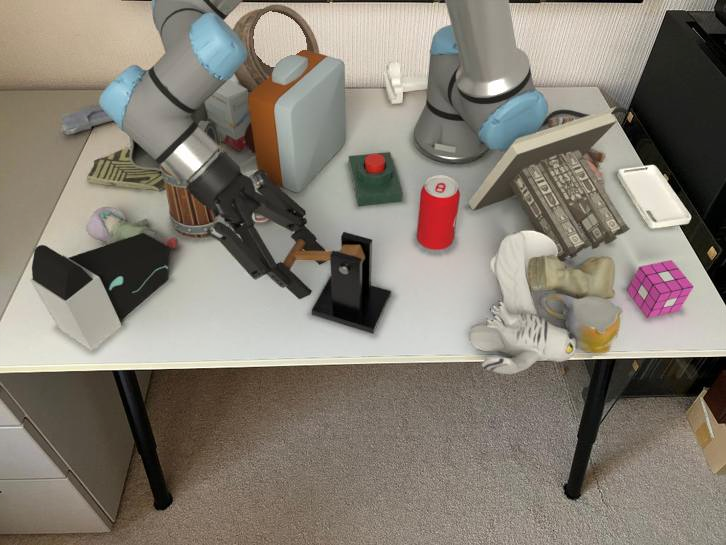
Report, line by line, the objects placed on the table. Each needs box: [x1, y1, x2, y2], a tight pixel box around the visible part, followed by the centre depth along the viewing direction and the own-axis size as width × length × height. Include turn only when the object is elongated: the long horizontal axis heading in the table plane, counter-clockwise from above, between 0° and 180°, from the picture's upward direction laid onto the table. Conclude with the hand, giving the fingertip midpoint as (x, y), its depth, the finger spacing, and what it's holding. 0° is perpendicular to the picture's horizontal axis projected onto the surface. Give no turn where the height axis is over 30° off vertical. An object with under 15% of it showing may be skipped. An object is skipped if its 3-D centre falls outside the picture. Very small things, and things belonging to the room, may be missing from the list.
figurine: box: [547, 116, 606, 191], centre depth 119 cm, size 7×5×20 cm
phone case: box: [616, 164, 692, 230], centre depth 113 cm, size 7×1×15 cm
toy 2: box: [468, 231, 577, 375], centre depth 88 cm, size 24×13×15 cm
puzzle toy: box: [627, 259, 694, 319], centre depth 95 cm, size 6×6×6 cm
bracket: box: [311, 231, 392, 335], centre depth 91 cm, size 10×8×13 cm
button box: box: [348, 151, 404, 207], centre depth 115 cm, size 8×12×4 cm, turn 9°
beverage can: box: [416, 174, 461, 251], centre depth 102 cm, size 6×6×12 cm
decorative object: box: [29, 233, 171, 352], centre depth 91 cm, size 8×18×15 cm, turn 147°
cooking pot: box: [232, 4, 320, 94], centre depth 130 cm, size 25×19×12 cm
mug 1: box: [160, 120, 230, 239], centre depth 105 cm, size 16×11×15 cm
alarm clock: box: [248, 50, 347, 193], centre depth 112 cm, size 18×9×21 cm, turn 152°
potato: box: [245, 122, 256, 155], centre depth 120 cm, size 7×8×7 cm
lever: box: [282, 239, 365, 270], centre depth 90 cm, size 12×6×2 cm, turn 69°
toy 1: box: [86, 206, 178, 249], centre depth 103 cm, size 11×5×15 cm
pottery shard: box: [86, 147, 166, 192], centre depth 115 cm, size 11×16×2 cm, turn 49°
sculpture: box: [528, 254, 616, 300], centre depth 93 cm, size 6×7×15 cm
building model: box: [467, 106, 631, 263], centre depth 103 cm, size 20×20×18 cm
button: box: [365, 153, 385, 173], centre depth 113 cm, size 4×4×2 cm
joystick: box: [383, 60, 428, 105], centre depth 134 cm, size 11×8×20 cm
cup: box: [489, 230, 558, 287], centre depth 98 cm, size 8×10×7 cm
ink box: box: [204, 80, 251, 151], centre depth 121 cm, size 9×5×12 cm, turn 48°
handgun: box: [59, 69, 149, 136], centre depth 131 cm, size 3×22×15 cm
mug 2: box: [539, 291, 623, 355], centre depth 91 cm, size 12×7×7 cm, turn 50°
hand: (315, 277), depth 95 cm, fingers open, 7 cm apart
